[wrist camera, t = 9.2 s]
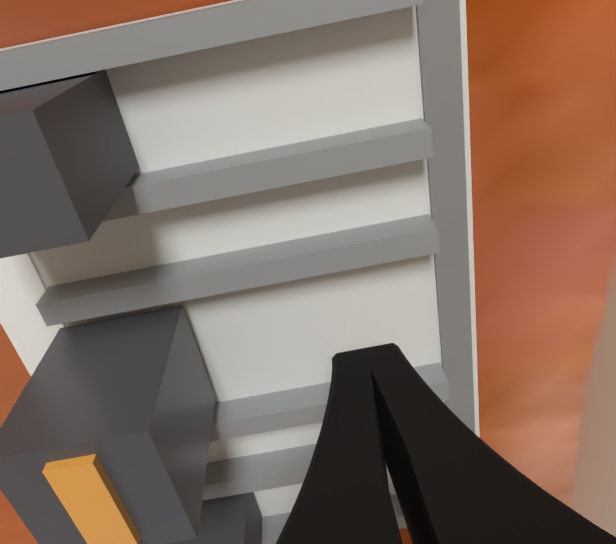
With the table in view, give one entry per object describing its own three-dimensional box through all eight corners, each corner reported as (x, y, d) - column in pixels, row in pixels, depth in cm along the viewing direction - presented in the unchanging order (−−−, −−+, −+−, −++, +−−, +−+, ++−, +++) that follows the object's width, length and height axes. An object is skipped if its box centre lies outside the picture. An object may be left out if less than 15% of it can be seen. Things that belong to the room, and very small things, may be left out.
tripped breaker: (215, 398, 14) (196, 547, 11) (105, 418, 14) (48, 572, 11) (182, 305, 13) (145, 440, 9) (59, 328, 13) (-26, 470, 9)
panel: (468, 461, 18) (528, 608, 14) (139, 518, 19) (101, 677, 14) (445, -45, 11) (555, -55, 7) (-100, 69, 11) (-320, 127, 7)
